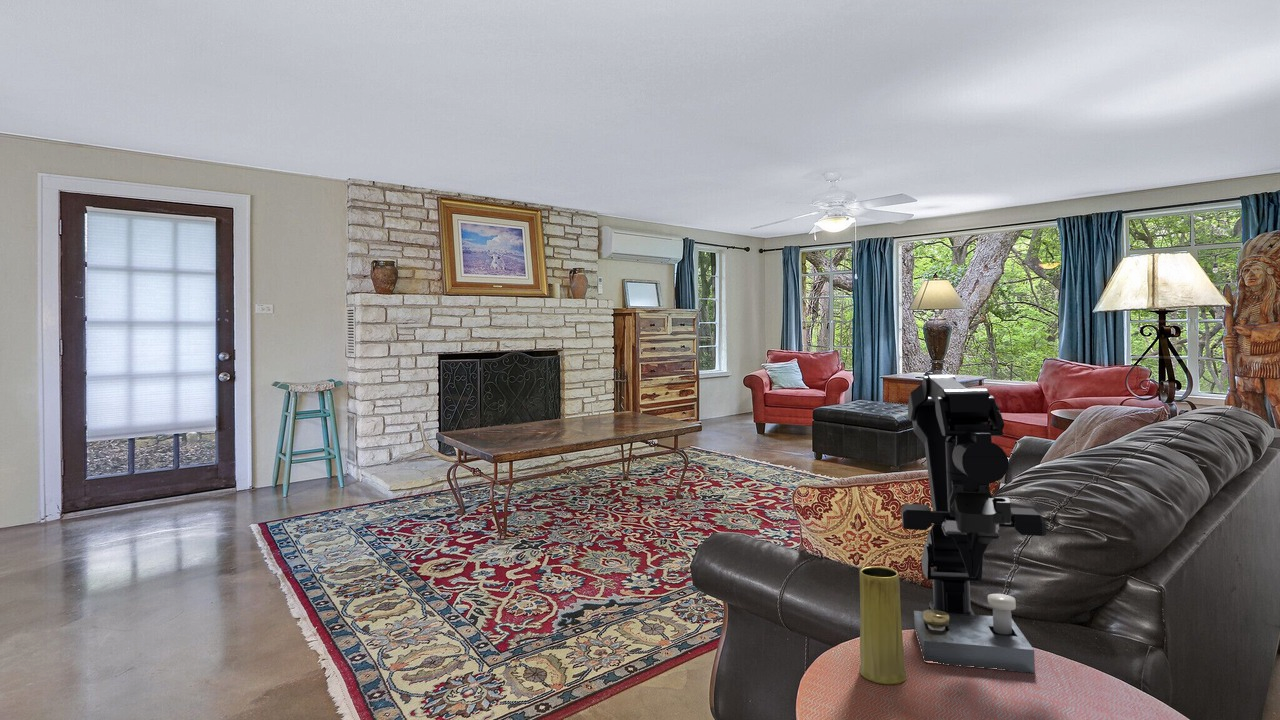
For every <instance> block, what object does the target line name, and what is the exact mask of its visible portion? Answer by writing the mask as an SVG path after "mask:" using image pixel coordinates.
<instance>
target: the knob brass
mask: <svg viewBox="0 0 1280 720" xmlns="http://www.w3.org/2000/svg"><path fill="white" fill-rule="evenodd" d="M922 611H923V621H924V622H925V623H926V624H928V630H940V631H945V626H948V625H949V614H948V613H946V612H944V611H940V610H931V609H925V610H922Z"/></svg>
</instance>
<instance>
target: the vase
mask: <svg viewBox="0 0 1280 720" xmlns="http://www.w3.org/2000/svg"><path fill="white" fill-rule="evenodd" d="M900 585H901V584H900V574H899V572H898V571H897V570H896V569H893V568H891V567H886V566H878V565H877V566H874V565H873V566H872V565H871V566H866V567H862V568H860V569H859V604H860V605H859V607H860V608H859V610H860V616H859V617H860V618H859V619H860V622H859V624H860V625H859V629H860V630H859V631H860V632H859V635H860V636H859V659H860V664H859V665H860V666H859V673H860V675H861V676H862V677H863V678H864V679H866V680H867V681H870V682H872V683H875V684H879V685H888V686H889V685H890V686H891V685H899V684H901V683H903V682H904V681H906V680H907V672H906V668H905V667H906V666H905V654H904V642H903V626H902V614H901V588H900Z"/></svg>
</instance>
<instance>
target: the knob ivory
mask: <svg viewBox="0 0 1280 720" xmlns="http://www.w3.org/2000/svg"><path fill="white" fill-rule="evenodd" d="M1016 604H1017V603H1016V598H1015V597H1014V596H1011V595H1010V594H1009V595H1008V594H1003V593H989V594H988V595H987V605H988V607H990V608H992V616H993V629H994V631H995V632H996V633H999V634H1006V635H1008V634H1012V620H1013V618H1012V611H1015V610H1016V609H1017V608H1016V607H1017V606H1016Z"/></svg>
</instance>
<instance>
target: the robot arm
mask: <svg viewBox="0 0 1280 720" xmlns="http://www.w3.org/2000/svg"><path fill="white" fill-rule="evenodd" d="M907 414H908V415H907V417H908V420H909V422H912V429H913V433H914V435H915V436H916V437H918V439H919V440H920V441H921V442H922V444H924V451H925V458H926V467H927V468H926V469H927V476H928V483H929V490H930V499H931V507H932V510H931V508H930V506H929V504H917V503H916V504H914V503H911V504H910V503H905V504H903V505H902V506H901V523H902V528H903V529H904V530H905V529H906V530H914V531H927V530H929V528H930V527H931V528H930V530H929V531H928V533H927V536H926V543H924V545H923V550H922V556H921V567H922V573H923V575H924V577H925V578H926V580H927V581H931V580H932V592H933V593H932V595H933V601H930V602H929V604H928V605H929V607H930V610H940V611H944V612H946V613H955V614H969V615H976V614H975V612H974V611H973V609H972V607H971V587H970V582H976V583H981V582H982V580H983V566H984V565H983V564H984V561H985V555H984V553H985V552H986V549H987V548H988V546H989V545H990V543H991V542H992V541H993V540H1000V539H1001V534H1000V533H999V530H1000V528H1002V527H1004V528H1014V530H1015V531H1017V532H1018V533H1019V534H1020V535H1021V536H1033V537H1034V536H1036V537H1037V536H1038V537H1043V536H1046V535H1047V532H1046V531H1047V530H1046V527H1047V526H1046V524H1047V523H1046V520H1045V518H1044V517H1043V516H1041V514H1039V513H1038V512H1037V511H1036V510H1035V509H1034V508H1028V507H1027V508H1026V507H1025V508H1024V507H1023V508H1021V507H1012V506H1011V501H1010V498H1009V497H1003V496H1001V497H1000V496H999V497H998V496H997V497H996V496H994V497H992V496H993V495H992V494H991V489H990V488H991V487H990V486H991V485H990V484H994V483H997V482H999V481H1000V480H1002V479H1003V478H1004V477H1005V476H1006V474H1007V472H1008V469H1009V463H1010V462H1009V458H1008V455H1007V453H1006V452H1005V450H1004V449H1003V448H1002V447H1001V446H1000V445H998V444H996V443H994V442H992V437H1002V436H1004V435H1003V434H1004V432H1003V431H1004V428H1005V422H1004V419H1003V415H1002V413H1001V410H1000V407H999V404H998V403H997V402H996V399H995V397H994V396H993V395H991V393H990V391H989V390H988V389H987V388H982V387H979V388H978V387H975V388H974V387H969V388H968V387H966V386H964V385H963V384H962V383H960V382H959V381H958V380H956V376H955V375H951V374H950V373H949V374H948V373H947V374H946V373H945V374H927V375H926V376H923V377H922V382H921V384H920V385H918V386H917V387H916V388H915V389H913V390H912V391H911V392H910V393H909V398H908V403H907Z"/></svg>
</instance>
